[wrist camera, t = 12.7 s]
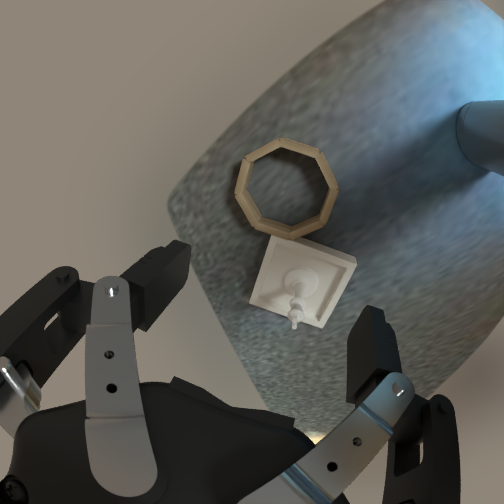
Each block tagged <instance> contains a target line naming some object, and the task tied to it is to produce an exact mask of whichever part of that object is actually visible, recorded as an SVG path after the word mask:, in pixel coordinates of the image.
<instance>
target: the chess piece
mask: <svg viewBox="0 0 504 504" xmlns="http://www.w3.org/2000/svg"><path fill="white" fill-rule="evenodd" d="M284 283H285V287H286V289H287V291H288V292H289V293H290V294H292V295H293V296H295V298H292V299H291V300H290V303H289V304H290V307H291V310H290V311H289V312H288V318H289V320H290V321H292V322H293V324H292V328H293V329H297V322H301V321H302V320H303V319H304V312H303V310H304V309H305V307H306V301H305V300H304V299H303V298H304V297H308V296H310V295H312V294H313V293H314V292H315V291H316V290H317V287H318V284H319V279H318V276H317V274H316V273H315V272H314V271H313V270H312V269H310V268H308V267H305V266H297V267H294V268H292V269H290V270H289V271H288V272H287V273H286V275H285V279H284Z"/></svg>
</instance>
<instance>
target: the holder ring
mask: <svg viewBox="0 0 504 504" xmlns="http://www.w3.org/2000/svg"><path fill="white" fill-rule="evenodd" d="M279 147H283V148H286V149H289V150H293V151H296V152H299V153H302V154H305V155H308V156H311V157H313V158H315V159H316V161H317V163H318V165H319V167H320V169H321V171H322V173H323V175H324V177H325V179H326V181H327V183H328V185H329V189H328V192H327V194H326V197H325V200H324V202H323V205H322V208H321V211H320V213H319V214H318V215H316V216H314V217H312V218H309V219H307V220H305V221H302V222H300V223H298V224H295V225H293V226H289V225H286V224H283V223H280V222H277V221H274V220H272V219H269V218H266V217H263V216H262V215H261V213H260V212H259V210H258V208H257V206H256V205H255V203H254V201H253V199H252V197H251V196H250V194H249V192H248V190H247V188H248V184H249V180H250V177H251V173H252V169H253V166H254V162H255V160H256V159H258V158H260V157H262V156H264V155H266V154H268V153H270V152H271V151H273V150H275V149H277V148H279ZM338 188H339V187H338V183H337V181H336V179H335V177H334V175H333V173H332V171H331V169H330V167H329V165H328V163H327V161H326V159H325V157H324V155H323V153H322V151H320V152H319V149H318V148H315V147H312V146H309V145H306V144H303V143H300V142H297V141H293V140H290V139H287V138H278V139H276V140H274V141H272V142H270V143H268V144H267V145H265V146H263V147H261V148H259V149H257V150H255V151H254V152H252V153H250V154H248V155H246V156H245V158H243V160H242V164H241V168H240V172H239V176H238V180H237V184H236V188H235V192H234V194H236V195H235V198H236V200H237V201H238V203H239V205H240V207H241V208H242V210H243V212H244V213H245V215H246V217H247V219H248V220H249V222H250V224H251V226H252V227H254V226H255V228H254V229H256V230H259V231H262V232H265V233H268V234H271V235H274V236H277V237H279V238H282V239H285V240H289V238H290V239H291V240H294V239H296V238H298V237H301V236H303V235H306V234H308V233H310V232H313V231H315V230H317V229H320V228H322V227H324V224H325V225H326V223H327V221H328V218H329V216H330V213H331V211H332V208H333V205H334V203H335V200H336V197H337V195H338V192H339V189H338Z"/></svg>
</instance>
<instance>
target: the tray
mask: <svg viewBox="0 0 504 504" xmlns="http://www.w3.org/2000/svg"><path fill="white" fill-rule="evenodd" d="M297 266H305V267H308V268H310V269H312V270H313V271H314V272H315V273H316V274H317V276H318V279H319V284H318V287H317V290H316V291H315V292H314V293H313V294H312V295H310V296H308V297H304V298H303V299H304V300H305V301H306V307H305V309H304V310H303V312H304V319H303V320H302V321H301V322H304V323H307V324H310V325H313V326H317V327H320V328H323V326H324V325H325V323H326V321H327V320H328V318H329V316H330V314H331V313H332V311H333V309H334V307H335V305H336V304H337V302H338V300H339V298H340V296H341V295H342V293H343V291H344V289H345V287H346V285H347V283H348V281H349V279H350V278H351V276H352V274H353V272H354V270H355V268H356V266H357V262H356V257H354V256H351V255H349V254H346V253H343V252H341V251H338V250H335V249H333V248H330V247H327V246H324V245H322V244H319V243H316V242H313V241H311V240H308V239H305V238H302V237H298V238H296V239H294V240H291V239H290V238H289V240H285V239H282V238H279V237H277V236H274V235H271V238H270V241H269V244H268V247H267V250H266V253H265V256H264V259H263V262H262V265H261V268H260V271H259V274H258V277H257V280H256V283H255V286H254V289H253V292H252V295H251V298H250V301H249V303H250V304H252V305H255V306H258V307H261V308H263V309H266V310H269V311H272V312H275V313H278V314H281V315H284V316H286V317H288V312H289V311H290V310H291V307H290V304H289V303H290V300H291V299H292V298H295V296H293V295H292V294H290V293H289V292H288V291H287V289H286V287H285V283H284V279H285V275H286V273H287V272H288V271H289V270H290V269H292V268H294V267H297Z"/></svg>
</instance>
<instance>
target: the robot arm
mask: <svg viewBox="0 0 504 504" xmlns="http://www.w3.org/2000/svg"><path fill="white" fill-rule="evenodd" d="M456 132H457V138H458V142H459V145H460V147H461V149H462V152H463V153H464V155H465V156H466V157H467V158H468V159H469V160H470V162H472V163H473V164H475V165H477V166H480V167H482V168H485V169H487V170H490V171H492V172H495V173H497V174H500V175H502V176H504V100H494V101H477V102H470V103H468V104H466V105H465V106H464V107H463V108H462V109H461V111H460V112H459V115H458V118H457V124H456ZM190 256H191V245H189V244H186V243H183V242H181V241H178V240H173V241H172V242H171V243H170V244H169V245H167V246H166V247H162V246H161V247H158V248H155V249H152V250H151V251H149V252H148V253H147V254H146V255H144V257H142V258H141V259H140V260H139V261H138V262H136V263H135V264H133V265H132V266H131V267H130V268H129V269H127V270H126V271H125V272H124V273H123V274H122V275H120V276H119V277H117V276H107V277H103V278H101V279H99V280H98V281H97V282H96V283H91V282H87V281H82V280H80V279H79V274H78V271H77V270H76V269H75V268H73V267H69V266H63V267H58V268H56V269H54V270H53V271H51V272H50V273H49V274H47V275H46V276H45V277H44V278H43V279H41V280H40V281H39V282H38V283H37V284H35V285H34V286H33V287H32V288H31V289H29V290H28V291H27V292H26V293H25V294H24V295H23V296H21V297H20V298H19V299H18V300H17V301H16V302H15V303H14V304H13V305H12V306H10V307H9V308H8V309H7V310H6V311H5V312H4V313H3V314H2V315H1V316H0V425H1V426H2V427H3V429H5V430H6V432H7V433H8V434H9V435H10V436H12V437H13V438H14V446H13V456H12V461H11V465H10V468H9V471H8V474H7V475H6V476H5V478H4V479H3V480H2V481H1V482H0V504H350V503H349V502H348V500H347V498H346V497H345V495H344V494H343V491H344V490H345V489H346V488H347V487H348V486H349V485H350V484H351V483H352V482H353V481H354V480H355V478H356V477H357V476H358V475H359V474H360V473H361V472H362V471H363V470H364V469H365V468H366V466H367V465H368V464H369V463H370V462H371V461H372V459H373V458H374V457H375V456H376V455H377V453H378V452H379V451H380V449H382V447H383V446H384V445H385V444H386V442H387V441H388V457H387V469H386V479H385V487H384V495H383V501H382V504H460V492H461V489H460V488H461V483H460V481H461V478H460V455H459V443H458V434H457V425H456V418H455V411H454V407H453V405H452V403H451V401H450V400H449V399H448V398H447V397H445V396H443V395H440V394H437V395H434V396H433V397H432V398H431V399H430V400H426V399H425V398H423V397H421V396H419V395H417V394H415V389H414V386H413V383H412V382H411V380H410V379H409V378H408V377H407V376H405V375H404V374H402V368H401V362H400V357H399V351H398V346H397V343H396V342H397V341H396V336H395V332H394V330H393V329H392V327H391V325H390V324H389V323H386V321H385V316H384V311H383V310H382V309H379V308H376V307H373V306H370V305H367V306H366V307H365V308H364V309H363V311H362V313H361V314H360V316H359V318H358V319H357V321H356V323H355V324H354V326H353V328H352V329H351V331H350V334H349V336H348V341H347V392H346V402H347V403H352V404H355V409H354V410H353V411H352V412H351V413H350V414H349V415H348V416H347V417H346V418H345V419H344V420H343V421H342V422H341V423H340V424H339V425H337V426H336V427H335V428H334V429H333V430H332V431H331V432H330V433H329V434H327V435H326V436H325V437H324V438H323V439H322V440H320V441H319V442H318V443H317V444H316V445H315V444H314V443H313V442H312V441H311V440H310V439H309V437H307V436H306V435H305V434H304V433H303V432H301V431H299V430H298V429H296V428H294V427H293V425H294V421H295V418H292V417H288V416H284V415H280V414H277V413H273V412H270V411H266V410H257V409H246V408H237V407H232V406H229V405H228V404H226V403H224V402H223V401H221V400H220V399H218V398H217V397H215V396H213V395H212V394H211V393H209V392H207V391H206V390H205V389H203V388H201V387H198V386H196V385H194V384H191V383H189V382H187V381H184V380H182V379H180V378H177V377H175V376H174V377H173V379H172V381H171V382H170V383H165V382H144V383H140V380H139V375H138V368H137V361H136V354H135V345H134V336H133V333H134V331H135V330H136V329H137V328H139V329H141V330H143V331H145V332H147V330H148V329H149V328H150V327H151V325H152V324H153V323H154V322H155V320H156V319H157V318H158V317H159V315H160V314H161V313H162V312H163V311H164V309H165V308H166V307H167V306H168V304H169V303H170V302H171V301H172V300H173V298H174V297H175V296H176V295H177V294H178V292H179V291H180V290H181V289H182V288H183V286H184V285H185V283H186V280H187V277H188V272H189V264H190ZM56 313H57V314H58V317H57V318H56V319H55V320H54V321H53V322H52V323H51V324H50V325H49V326H48V327H47V328H46V329H45V330H44V327H45V325H46V323H47V322H48V321H49V320H50V319H51V318H52V317H53V316H54V315H55V314H56ZM85 333H86V341H85V395H86V400H82V401H79V402H75V403H71V404H67V405H63V406H59V407H55V408H51V409H46V410H41V411H38V410H39V409H40V401H41V390H40V389H41V388H42V386H43V385H44V384H45V383H46V381H47V380H48V379H49V377H50V376H51V375H52V374H53V372H54V371H55V370H56V368H57V367H58V366H59V365H60V363H61V362H62V361H63V360H64V358H65V357H66V356H67V355H68V354H69V352H70V351H71V350H72V349H73V347H74V346H75V345H76V344H77V343H78V341H79V340H80V339H81V338H82V337H83V336H84V335H85ZM422 442H423V460H422V462H421V464H420V443H422Z"/></svg>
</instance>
